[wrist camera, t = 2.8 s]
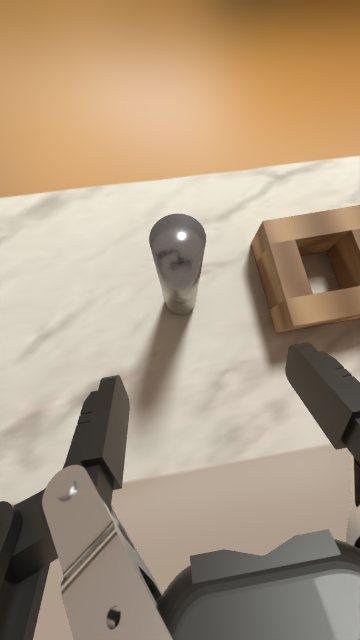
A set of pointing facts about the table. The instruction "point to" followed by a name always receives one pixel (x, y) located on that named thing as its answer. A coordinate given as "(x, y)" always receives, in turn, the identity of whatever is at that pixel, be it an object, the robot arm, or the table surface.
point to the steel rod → (178, 259)
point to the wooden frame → (289, 274)
